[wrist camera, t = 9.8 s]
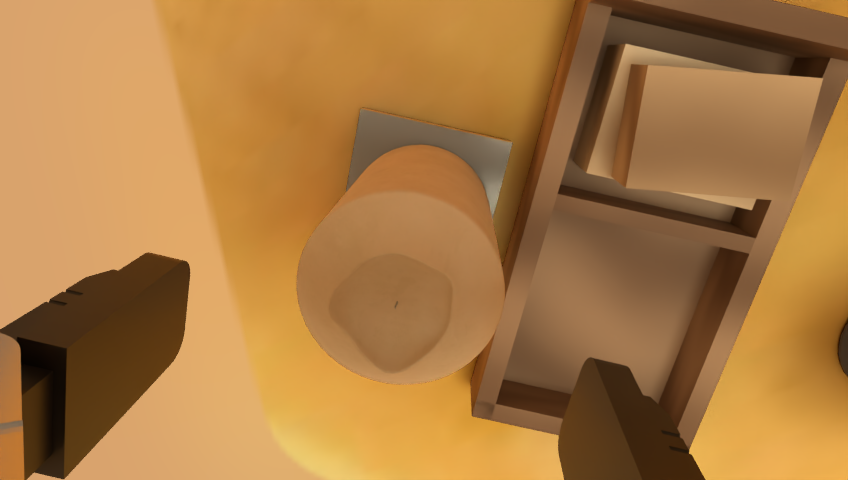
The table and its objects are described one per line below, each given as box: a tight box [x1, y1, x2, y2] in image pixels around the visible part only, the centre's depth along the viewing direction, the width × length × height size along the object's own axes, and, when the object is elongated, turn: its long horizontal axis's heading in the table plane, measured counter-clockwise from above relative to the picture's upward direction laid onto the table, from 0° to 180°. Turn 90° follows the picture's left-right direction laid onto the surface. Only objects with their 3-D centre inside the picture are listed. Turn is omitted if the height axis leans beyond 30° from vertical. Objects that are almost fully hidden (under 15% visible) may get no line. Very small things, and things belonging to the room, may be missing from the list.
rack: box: [471, 0, 848, 449], centre depth 21 cm, size 17×9×5 cm, turn 168°
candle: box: [297, 145, 505, 384], centre depth 19 cm, size 6×6×10 cm
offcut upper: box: [612, 64, 823, 202], centre depth 19 cm, size 4×5×2 cm
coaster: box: [346, 108, 513, 220], centre depth 24 cm, size 7×6×1 cm
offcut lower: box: [573, 44, 756, 210], centre depth 21 cm, size 4×6×2 cm
